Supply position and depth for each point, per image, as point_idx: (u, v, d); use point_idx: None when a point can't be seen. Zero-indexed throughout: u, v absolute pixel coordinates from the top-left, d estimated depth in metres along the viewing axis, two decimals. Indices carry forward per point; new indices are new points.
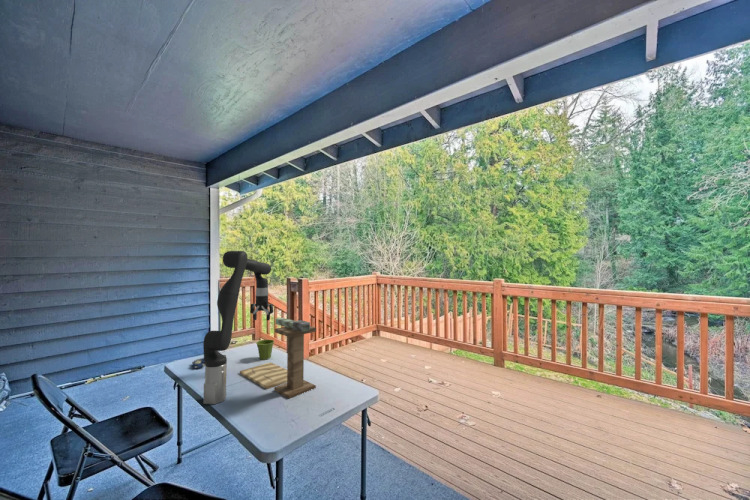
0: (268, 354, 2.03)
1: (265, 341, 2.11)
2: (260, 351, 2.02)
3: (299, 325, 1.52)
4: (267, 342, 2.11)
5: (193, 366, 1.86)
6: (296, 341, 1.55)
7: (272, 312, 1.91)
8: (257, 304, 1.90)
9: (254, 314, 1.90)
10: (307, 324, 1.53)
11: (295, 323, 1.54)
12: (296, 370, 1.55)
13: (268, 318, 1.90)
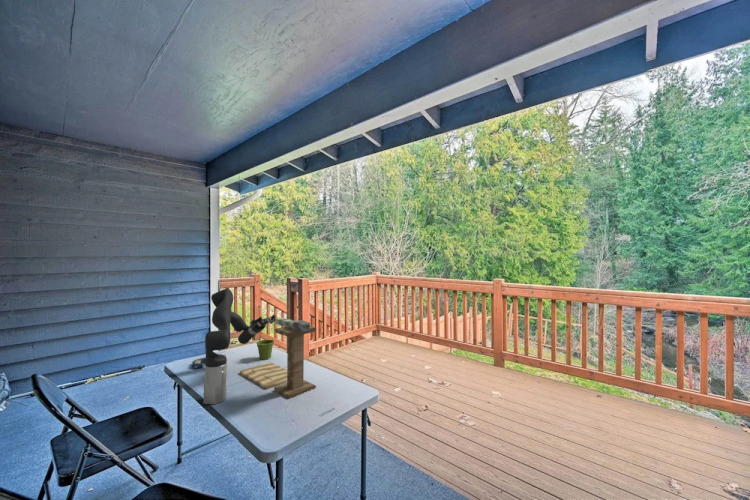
0: (268, 354, 2.03)
1: (265, 341, 2.11)
2: (260, 351, 2.02)
3: (299, 325, 1.52)
4: (267, 342, 2.11)
5: (193, 366, 1.87)
6: (296, 341, 1.55)
7: (275, 318, 1.85)
8: None
9: (258, 318, 1.77)
10: (307, 324, 1.53)
11: (295, 323, 1.54)
12: (296, 370, 1.55)
13: None
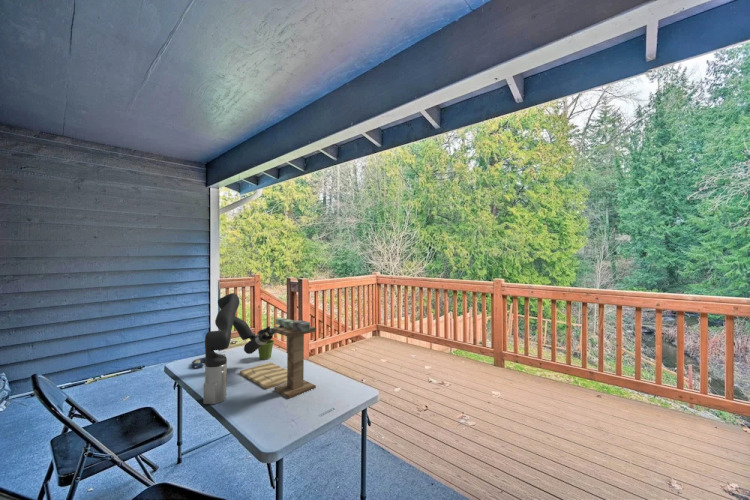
0: (268, 354, 2.03)
1: None
2: (260, 351, 2.02)
3: (299, 325, 1.52)
4: (267, 342, 2.11)
5: (193, 366, 1.87)
6: (296, 341, 1.55)
7: None
8: None
9: (266, 328, 1.70)
10: (307, 324, 1.53)
11: (295, 323, 1.54)
12: (296, 370, 1.55)
13: None
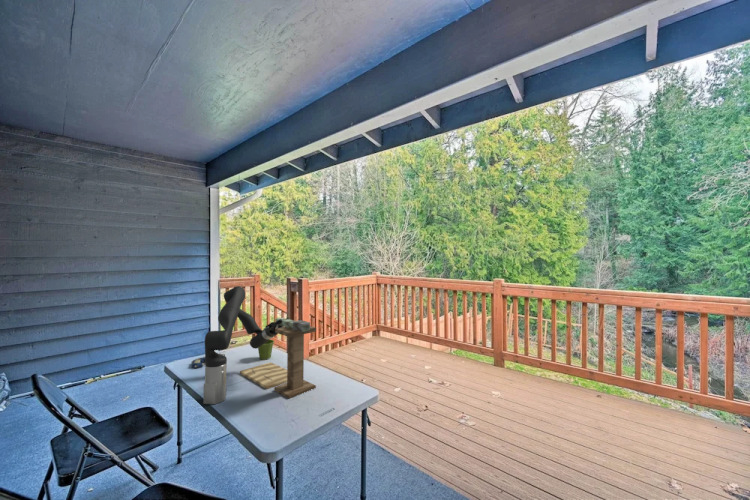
0: (268, 354, 2.03)
1: None
2: (260, 351, 2.02)
3: (299, 325, 1.52)
4: (267, 342, 2.11)
5: (193, 365, 1.87)
6: (296, 341, 1.55)
7: None
8: None
9: (277, 321, 1.66)
10: (307, 324, 1.53)
11: (295, 323, 1.54)
12: (296, 370, 1.55)
13: (288, 318, 1.69)
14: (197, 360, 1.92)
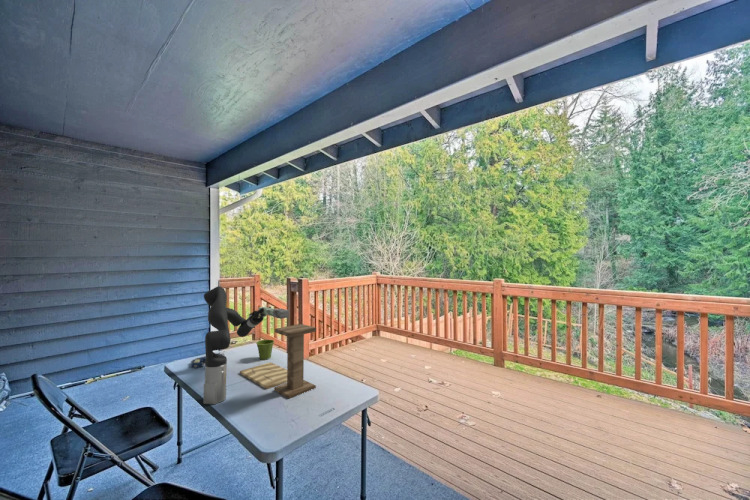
0: (268, 354, 2.03)
1: (265, 341, 2.11)
2: (260, 351, 2.02)
3: (278, 313, 1.65)
4: (267, 342, 2.11)
5: (192, 365, 1.88)
6: (296, 341, 1.55)
7: None
8: None
9: (260, 309, 1.79)
10: (286, 312, 1.66)
11: (275, 311, 1.68)
12: (296, 370, 1.55)
13: (270, 307, 1.82)
14: (197, 360, 1.93)
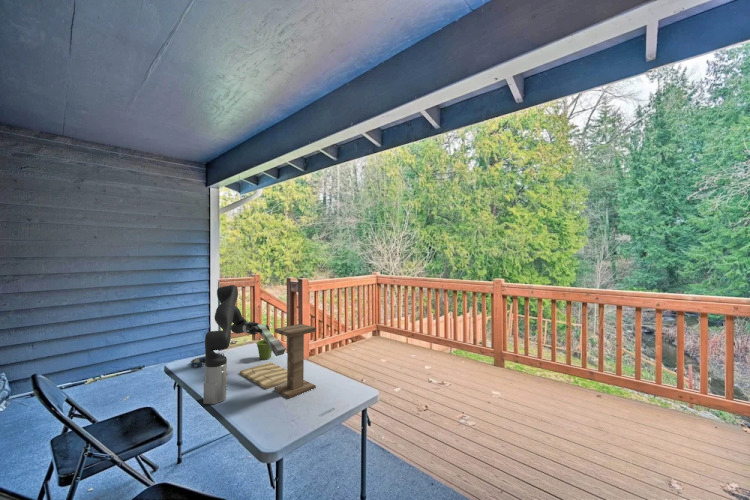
0: (268, 354, 2.03)
1: None
2: (260, 351, 2.02)
3: (275, 350, 1.68)
4: None
5: (192, 365, 1.88)
6: (296, 341, 1.55)
7: (268, 328, 1.87)
8: (251, 327, 1.85)
9: None
10: (282, 350, 1.69)
11: (272, 345, 1.70)
12: (296, 370, 1.55)
13: (268, 328, 1.83)
14: (196, 359, 1.93)
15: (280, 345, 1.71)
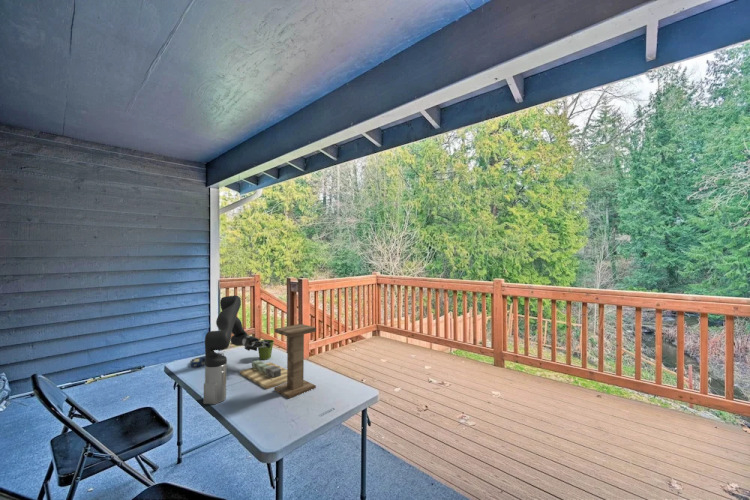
0: (268, 354, 2.03)
1: None
2: (260, 351, 2.02)
3: (271, 372, 1.69)
4: None
5: (192, 364, 1.89)
6: (296, 341, 1.55)
7: (269, 343, 1.89)
8: (251, 343, 1.85)
9: (253, 345, 1.80)
10: (278, 371, 1.70)
11: (267, 369, 1.72)
12: (296, 370, 1.55)
13: (269, 344, 1.85)
14: (196, 359, 1.94)
15: (275, 368, 1.72)
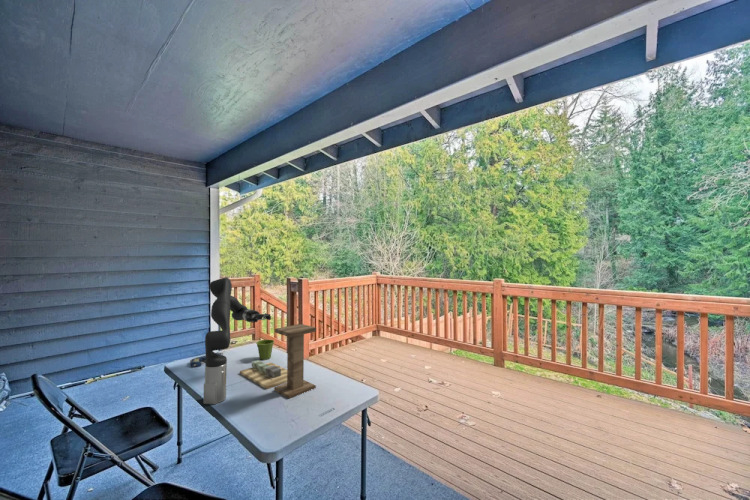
0: (268, 354, 2.03)
1: (266, 341, 2.11)
2: (260, 351, 2.02)
3: (271, 372, 1.69)
4: (267, 342, 2.11)
5: (192, 364, 1.89)
6: (296, 341, 1.55)
7: None
8: (252, 315, 1.86)
9: (254, 317, 1.80)
10: (278, 371, 1.70)
11: (267, 369, 1.72)
12: (296, 370, 1.55)
13: None
14: (196, 359, 1.94)
15: (275, 368, 1.72)
